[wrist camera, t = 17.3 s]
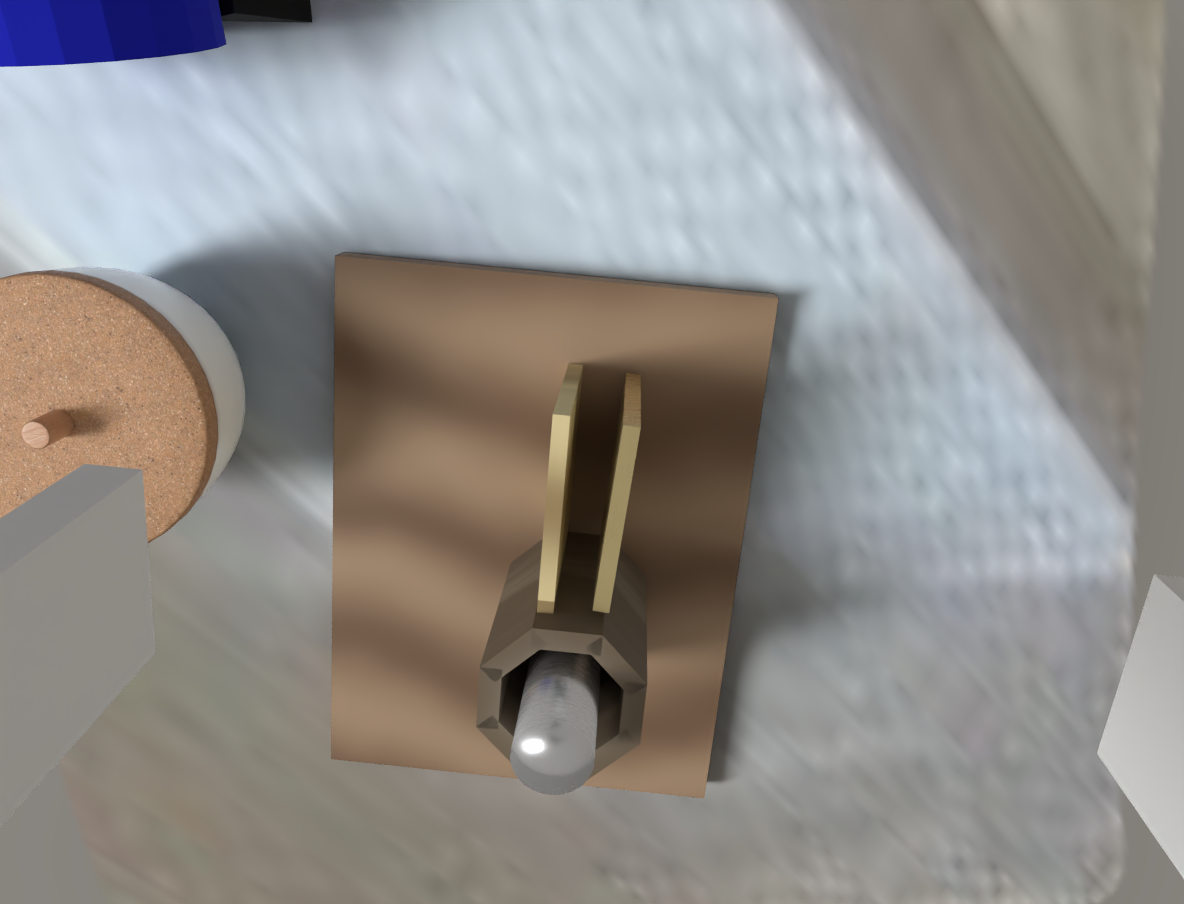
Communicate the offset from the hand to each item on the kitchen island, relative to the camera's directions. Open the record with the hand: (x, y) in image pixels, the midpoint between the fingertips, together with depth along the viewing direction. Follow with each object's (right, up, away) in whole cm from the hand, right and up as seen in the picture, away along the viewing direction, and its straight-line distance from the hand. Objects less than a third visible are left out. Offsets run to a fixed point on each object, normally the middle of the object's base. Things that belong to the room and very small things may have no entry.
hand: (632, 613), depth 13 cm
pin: (-1, -4, +31) cm, 31 cm away
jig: (-3, -2, +31) cm, 32 cm away
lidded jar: (-19, +6, +30) cm, 36 cm away
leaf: (+1, +2, +28) cm, 29 cm away
